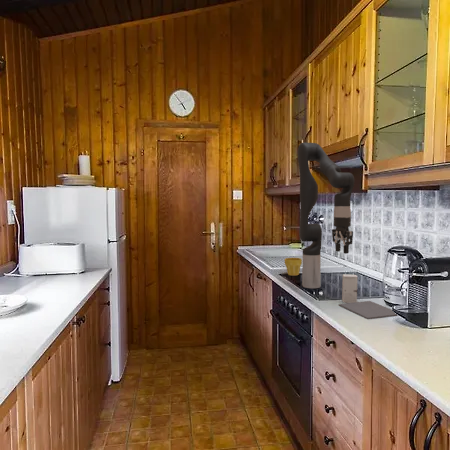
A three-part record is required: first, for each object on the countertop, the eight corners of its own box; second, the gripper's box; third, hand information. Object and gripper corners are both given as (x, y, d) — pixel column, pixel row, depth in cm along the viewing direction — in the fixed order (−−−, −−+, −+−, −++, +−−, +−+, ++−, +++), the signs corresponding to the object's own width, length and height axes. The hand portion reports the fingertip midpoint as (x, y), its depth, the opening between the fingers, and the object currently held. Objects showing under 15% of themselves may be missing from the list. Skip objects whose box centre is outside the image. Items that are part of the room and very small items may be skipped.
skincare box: (343, 302, 169) (343, 276, 169) (341, 300, 174) (341, 274, 173) (357, 303, 168) (357, 276, 168) (355, 300, 173) (356, 274, 172)
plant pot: (281, 274, 233) (281, 259, 232) (290, 272, 240) (290, 256, 240) (296, 277, 226) (296, 260, 225) (305, 274, 233) (305, 258, 233)
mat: (338, 305, 166) (338, 304, 166) (370, 302, 170) (370, 300, 170) (367, 319, 146) (367, 317, 146) (402, 315, 151) (402, 313, 151)
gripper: (326, 215, 181) (326, 250, 182) (344, 217, 167) (343, 255, 168) (340, 215, 183) (340, 250, 184) (358, 216, 169) (358, 254, 170)
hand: (341, 252), depth 176 cm, fingers open, 6 cm apart
